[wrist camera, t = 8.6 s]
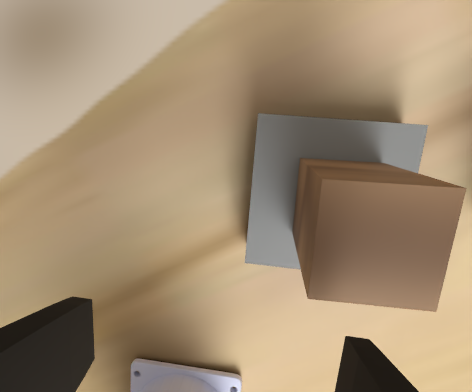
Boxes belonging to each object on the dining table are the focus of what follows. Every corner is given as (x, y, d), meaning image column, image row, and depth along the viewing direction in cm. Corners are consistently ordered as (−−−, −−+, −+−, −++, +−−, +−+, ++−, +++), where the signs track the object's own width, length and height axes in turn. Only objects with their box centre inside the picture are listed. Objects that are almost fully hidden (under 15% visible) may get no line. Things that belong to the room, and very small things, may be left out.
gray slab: (374, 257, 18) (395, 280, 15) (248, 243, 19) (244, 263, 16) (399, 127, 16) (428, 125, 14) (259, 117, 17) (258, 113, 14)
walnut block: (370, 239, 15) (436, 311, 9) (292, 233, 15) (308, 298, 9) (383, 162, 14) (466, 188, 8) (299, 158, 14) (322, 179, 9)
